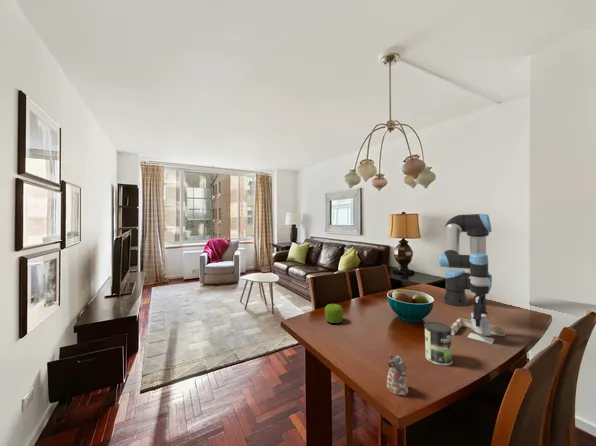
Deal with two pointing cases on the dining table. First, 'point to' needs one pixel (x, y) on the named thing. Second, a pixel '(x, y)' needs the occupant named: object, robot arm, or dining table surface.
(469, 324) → the corner walls
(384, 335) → the dining table surface
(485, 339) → the pad
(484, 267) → the robot arm
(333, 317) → the apple
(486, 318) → the medicine box
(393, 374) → the figurine
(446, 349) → the coffee can
